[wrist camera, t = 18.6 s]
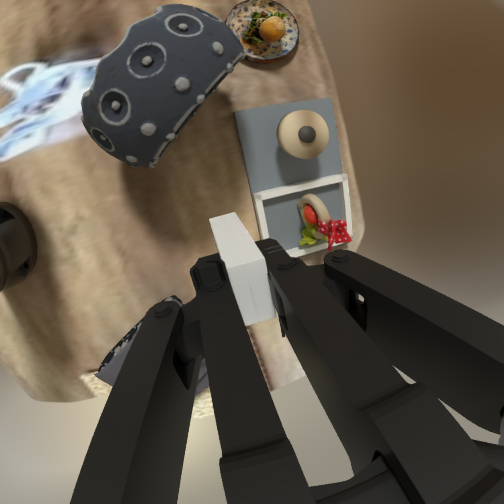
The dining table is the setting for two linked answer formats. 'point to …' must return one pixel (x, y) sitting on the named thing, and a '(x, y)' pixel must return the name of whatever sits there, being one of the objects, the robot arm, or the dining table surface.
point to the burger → (264, 29)
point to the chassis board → (291, 175)
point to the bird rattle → (320, 223)
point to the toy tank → (118, 353)
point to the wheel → (302, 134)
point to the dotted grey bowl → (157, 81)
